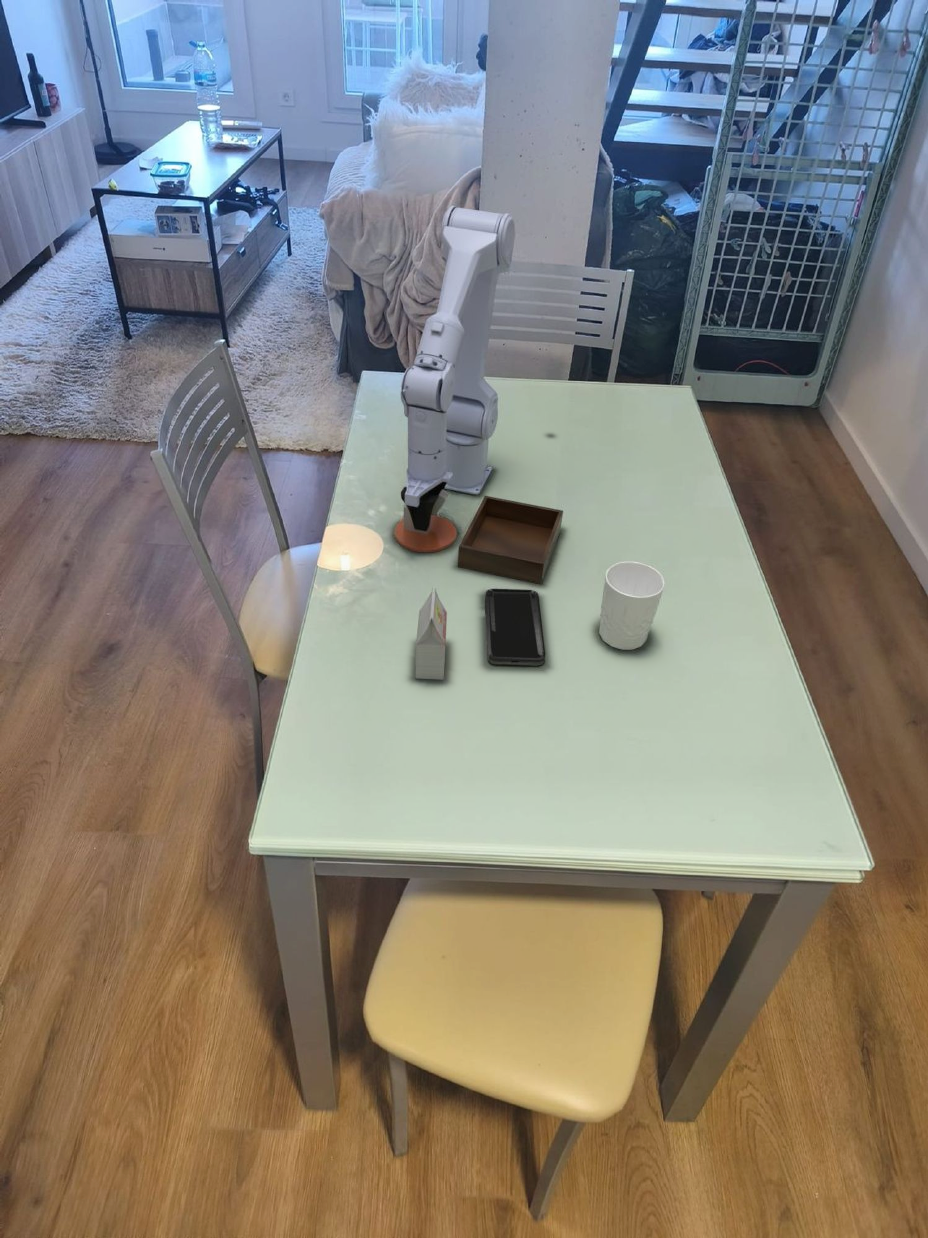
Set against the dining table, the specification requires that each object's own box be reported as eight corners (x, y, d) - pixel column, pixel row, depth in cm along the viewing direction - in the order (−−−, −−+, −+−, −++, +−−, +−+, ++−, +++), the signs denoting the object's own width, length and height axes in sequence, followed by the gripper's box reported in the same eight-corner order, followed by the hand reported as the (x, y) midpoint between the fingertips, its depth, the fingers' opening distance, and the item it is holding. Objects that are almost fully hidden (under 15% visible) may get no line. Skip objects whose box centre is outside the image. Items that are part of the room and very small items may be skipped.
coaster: (406, 512, 137) (406, 509, 137) (463, 523, 135) (464, 520, 135) (385, 545, 130) (385, 542, 130) (445, 557, 128) (446, 554, 128)
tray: (483, 515, 138) (484, 495, 135) (560, 530, 135) (563, 510, 133) (457, 566, 127) (458, 546, 124) (541, 584, 124) (543, 563, 122)
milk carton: (415, 678, 108) (416, 620, 101) (418, 643, 113) (419, 586, 106) (443, 679, 108) (445, 622, 101) (445, 645, 113) (447, 588, 106)
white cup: (615, 659, 112) (628, 603, 106) (583, 625, 117) (594, 569, 111) (661, 643, 115) (676, 587, 108) (628, 610, 120) (641, 555, 114)
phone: (537, 590, 121) (546, 660, 110) (537, 595, 122) (545, 666, 110) (484, 588, 121) (487, 658, 109) (484, 594, 121) (486, 664, 110)
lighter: (403, 529, 132) (403, 487, 127) (406, 523, 134) (406, 481, 128) (445, 538, 131) (446, 495, 126) (448, 532, 132) (449, 489, 127)
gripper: (437, 473, 116) (435, 551, 125) (466, 427, 127) (462, 502, 136) (390, 464, 117) (392, 542, 126) (422, 420, 128) (422, 494, 137)
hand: (425, 521), depth 131 cm, fingers open, 4 cm apart
